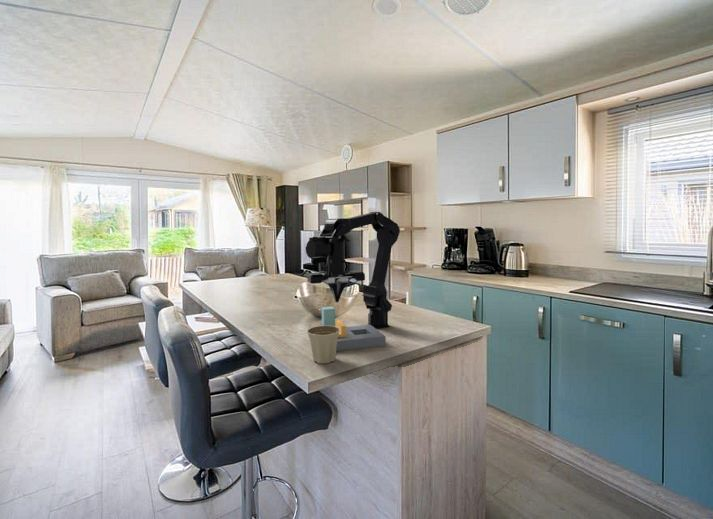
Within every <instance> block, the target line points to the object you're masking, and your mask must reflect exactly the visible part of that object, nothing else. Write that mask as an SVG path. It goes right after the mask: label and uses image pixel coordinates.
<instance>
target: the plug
mask: <svg viewBox="0 0 713 519" xmlns="http://www.w3.org/2000/svg"><path fill="white" fill-rule="evenodd" d="M320 309H321V326H335V320H336V308H335V307H334V306H322V307H321V308H320Z"/></svg>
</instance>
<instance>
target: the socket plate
mask: <svg viewBox="0 0 713 519" xmlns="http://www.w3.org/2000/svg"><path fill="white" fill-rule="evenodd" d="M376 346H377V347H384V346H386V335H385V334H384V333H382V332H380V330H378V328H374V327H373V326H372V325H369V324H366V325H355V326H354V325H353V326H346V337H339V338H337V347H336V352H338V351H340V352H341V351H348V350H349V351H350V350H357V349H366V348H368V349H369V348H374V347H376ZM377 347H376V348H377Z"/></svg>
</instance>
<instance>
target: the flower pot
mask: <svg viewBox="0 0 713 519" xmlns="http://www.w3.org/2000/svg"><path fill="white" fill-rule="evenodd" d="M339 332H340V328H338V327H335V326H322V325H316V326H313V327H310V328H308V329H306V334H308V335H307V336H308V338H309V344H310V347H311V354H312V360H313V362H317V364H329V363H331V362H334V361H335V360H336V355H337V354H336V353H337V351H336V347H337V338H338V336H339Z"/></svg>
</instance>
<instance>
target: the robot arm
mask: <svg viewBox="0 0 713 519" xmlns="http://www.w3.org/2000/svg"><path fill="white" fill-rule="evenodd" d="M369 225H370V226H371V228H372V229H373V230H374V231H375V232H376V240H377V243H378V248H377V252H376V256H375V262H374V267H373V273H372V277H371V281H370V282H369V284H366V285H364V288H363V294H362V298H363V302H364V305H365V307H366V309H368V310H369V313H368V314H367V316H368V318H367V325H372V326H373V327H374V328H375V329H380V328H383V329H384V328H390V324H389V319H388V318H389V317H388V316H389V312H390V311H391V310H392V308H393V304H392V303H391V301H389V299H387V297H388V295H387V294H388V291H387V288H386V284H385V283H386V277H387V274H388V268H389V262H390V257H391V252H392V247H394V245H395V243H396V242H397V241H398V239H399V235H400V233H401V231H400V230H401V229H400V226H399V224H398V223H397V222H394V220H393V219H391V218H389V217H387V216H385V215H384V214H383V212H380V211H370V212H368V213H363V214H360V215H359V214H358V215H355V216H351V217H347V218H328V219H327V220H325V222H324V226H323V228H322V229H321V231H320V233H319V234H318V236H309V239H308V241H307V242H306V246H305V253H306V256H307V257H308V258H309V259H317V258H318V259H319V258H326V257H327V258H326V262H324V261H323V262H319V263H318V272H310V273H308V274H307V279H306V280H307V282H308V283H309V284H315V285H316V284H321V283H322V282H323V281H324V282H323V283H324V284H326V285H327V286H328V287H329V289H330V291H331V294H332V297H333V300H334V303H339V301H340V299H341V298H342V297H341V296H342V295H343V291H344V290H345V288H346V287H347V285H349V284H350V282H349V280H350V279H354V280H355V281H357V282H359V281H361V282H362V281H365V280H366V275H365V272H363V271H362V270H349V272H348V273H347V272H346V270H345V269H346V268H345V266H346V265H345V264H346V259H345V243H350V242H351V241H350V240H351V239H349V238H347V237H346V235H347V234H349V233H350V232H351V231H353V230H355V229H358V228H362V227H365V226H369ZM322 273H323V274H322Z"/></svg>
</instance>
